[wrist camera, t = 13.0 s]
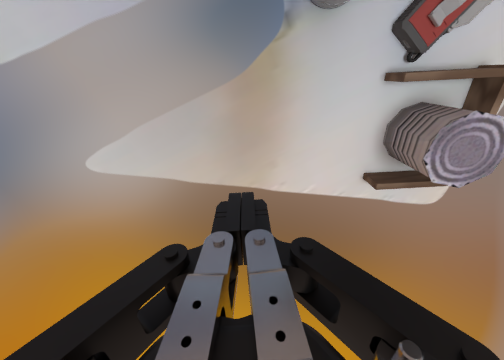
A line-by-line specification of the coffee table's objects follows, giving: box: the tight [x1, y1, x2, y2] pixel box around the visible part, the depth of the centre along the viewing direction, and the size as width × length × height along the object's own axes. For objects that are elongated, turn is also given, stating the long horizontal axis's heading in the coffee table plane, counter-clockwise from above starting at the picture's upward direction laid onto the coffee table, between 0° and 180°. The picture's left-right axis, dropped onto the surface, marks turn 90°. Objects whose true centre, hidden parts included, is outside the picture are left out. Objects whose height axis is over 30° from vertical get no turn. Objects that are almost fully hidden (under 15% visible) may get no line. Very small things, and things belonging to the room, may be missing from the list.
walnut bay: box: [363, 65, 504, 190], centre depth 39 cm, size 21×17×5 cm
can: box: [383, 102, 504, 188], centre depth 36 cm, size 11×11×12 cm
